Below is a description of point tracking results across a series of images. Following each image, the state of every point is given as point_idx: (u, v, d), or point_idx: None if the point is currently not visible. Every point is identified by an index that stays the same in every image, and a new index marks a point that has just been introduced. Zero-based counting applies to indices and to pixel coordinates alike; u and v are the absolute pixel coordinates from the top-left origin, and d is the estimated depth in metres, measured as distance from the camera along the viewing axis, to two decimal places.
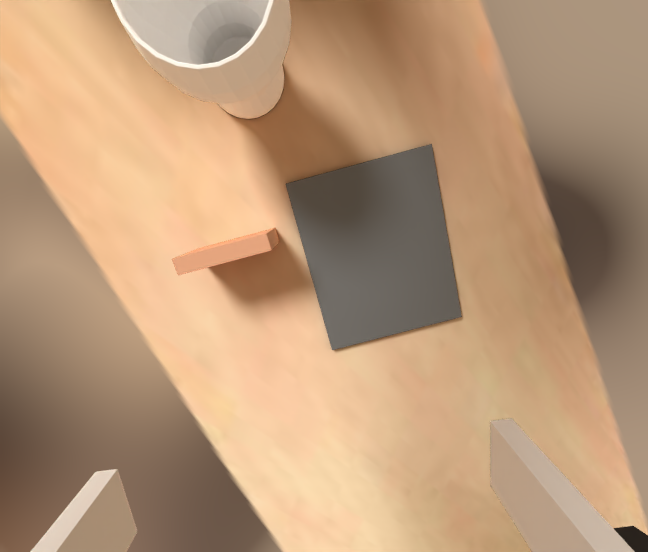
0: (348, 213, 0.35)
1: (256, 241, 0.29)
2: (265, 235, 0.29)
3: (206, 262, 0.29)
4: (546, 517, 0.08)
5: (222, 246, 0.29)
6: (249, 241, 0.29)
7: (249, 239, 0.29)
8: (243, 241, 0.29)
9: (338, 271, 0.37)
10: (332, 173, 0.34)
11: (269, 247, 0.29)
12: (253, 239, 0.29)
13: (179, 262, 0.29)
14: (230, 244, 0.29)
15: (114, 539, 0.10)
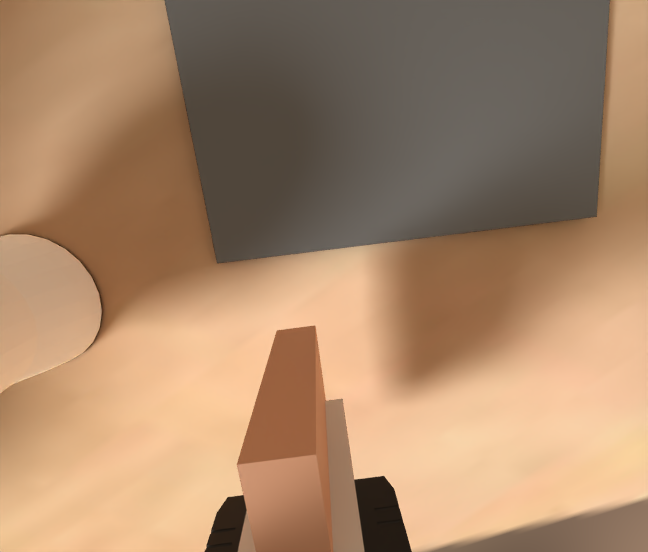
0: (289, 136, 0.16)
1: (266, 503, 0.07)
2: (245, 468, 0.06)
3: None
4: None
5: None
6: (265, 530, 0.07)
7: (256, 528, 0.07)
8: (262, 549, 0.07)
9: (415, 176, 0.16)
10: (202, 163, 0.16)
11: (301, 459, 0.06)
12: (259, 514, 0.07)
13: None
14: None
15: None
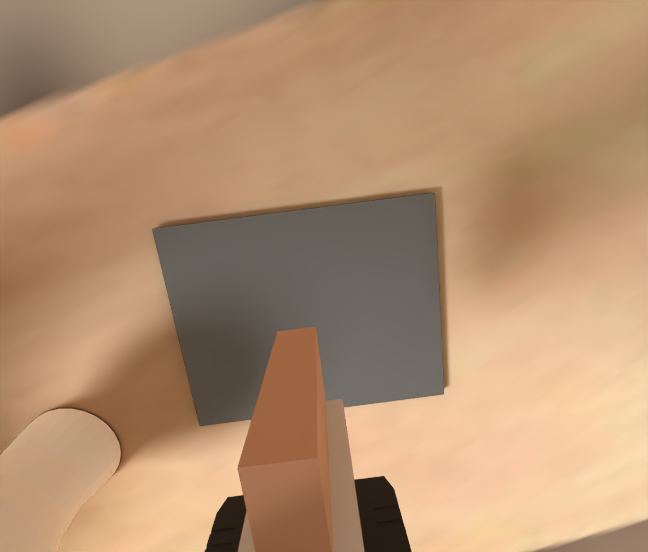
0: (245, 353, 0.25)
1: (267, 507, 0.07)
2: (245, 472, 0.06)
3: None
4: None
5: None
6: (265, 533, 0.07)
7: (257, 532, 0.07)
8: None
9: (327, 373, 0.25)
10: (189, 369, 0.25)
11: (303, 462, 0.06)
12: (259, 517, 0.07)
13: None
14: None
15: None
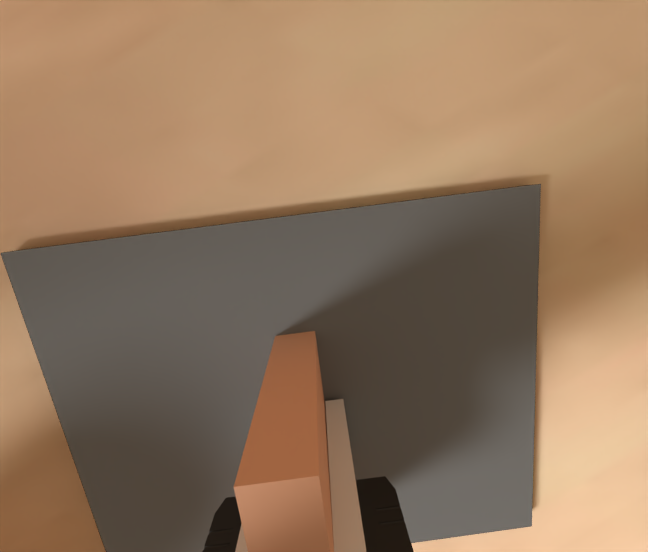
0: (191, 468, 0.14)
1: (265, 527, 0.06)
2: (242, 491, 0.06)
3: None
4: None
5: None
6: None
7: None
8: None
9: None
10: (92, 496, 0.14)
11: (303, 480, 0.06)
12: (256, 538, 0.06)
13: None
14: None
15: None
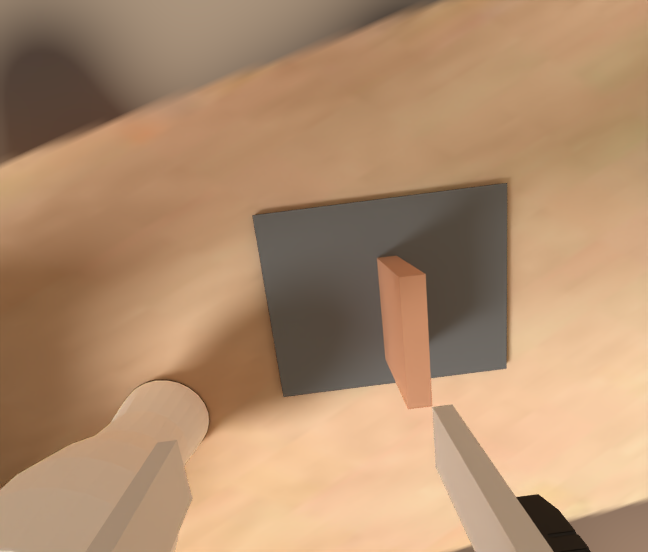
0: (328, 329, 0.27)
1: (407, 292, 0.19)
2: (401, 278, 0.19)
3: (422, 366, 0.20)
4: (467, 489, 0.10)
5: (404, 341, 0.20)
6: (405, 303, 0.19)
7: (402, 302, 0.19)
8: (403, 311, 0.20)
9: None
10: (277, 344, 0.27)
11: (420, 276, 0.19)
12: (404, 297, 0.19)
13: (414, 400, 0.21)
14: (404, 330, 0.20)
15: (177, 502, 0.11)
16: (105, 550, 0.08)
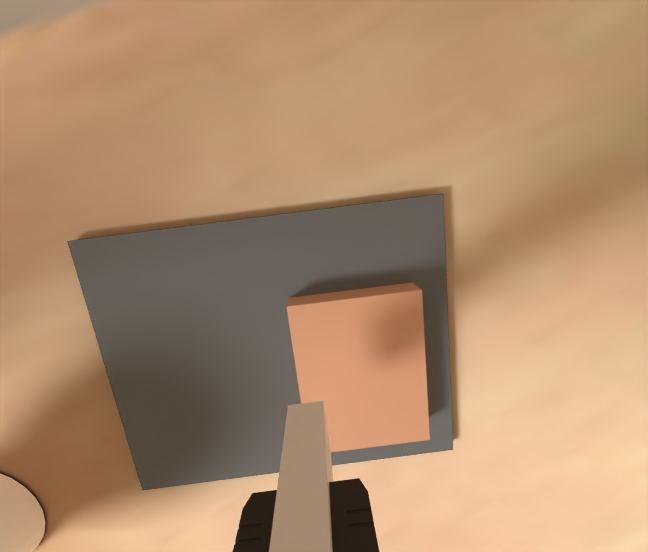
0: (197, 400, 0.19)
1: None
2: None
3: None
4: None
5: (424, 363, 0.17)
6: None
7: (422, 318, 0.17)
8: None
9: None
10: (125, 420, 0.19)
11: (413, 285, 0.18)
12: (421, 311, 0.17)
13: None
14: (424, 350, 0.17)
15: None
16: (295, 483, 0.09)
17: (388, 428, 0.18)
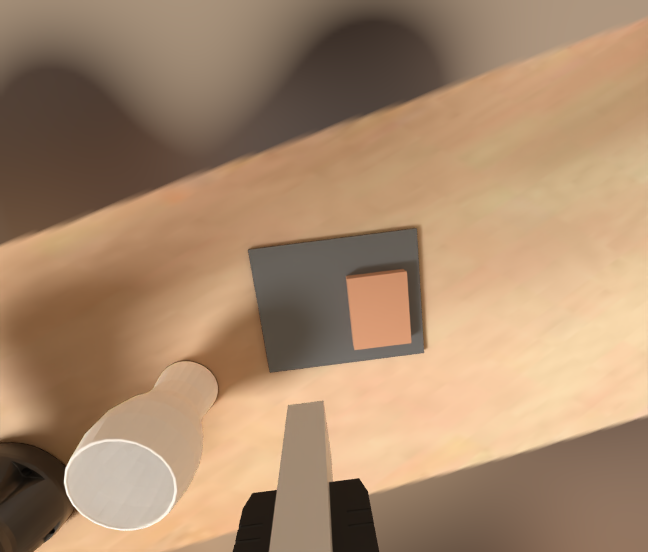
0: (300, 325, 0.40)
1: None
2: (406, 272, 0.37)
3: None
4: None
5: (408, 305, 0.38)
6: None
7: (407, 284, 0.38)
8: (407, 289, 0.38)
9: (350, 339, 0.40)
10: (265, 335, 0.40)
11: (403, 270, 0.38)
12: (407, 281, 0.38)
13: None
14: None
15: None
16: (295, 484, 0.09)
17: (391, 337, 0.39)
